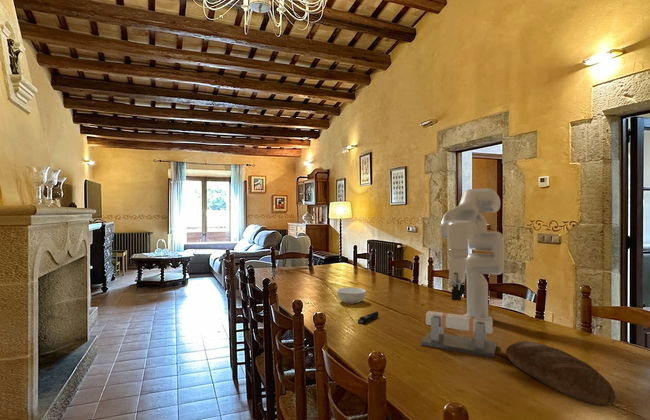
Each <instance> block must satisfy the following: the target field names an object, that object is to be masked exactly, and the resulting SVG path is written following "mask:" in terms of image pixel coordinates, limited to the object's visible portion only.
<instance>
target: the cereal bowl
mask: <svg viewBox="0 0 650 420" xmlns="http://www.w3.org/2000/svg"><path fill="white" fill-rule="evenodd" d="M366 294H367V290H365V289H364V288H360V287H341V288H337V290H336V295H337V298H338V299H339V300H340V301H342V302H344V304H348V303H351V304H350V305H354V303H356V304H359V302H362V301H363V300H364V299H365V298H366V296H367V295H366Z"/></svg>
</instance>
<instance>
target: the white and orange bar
mask: <svg viewBox="0 0 650 420" xmlns="http://www.w3.org/2000/svg"><path fill="white" fill-rule="evenodd" d="M431 317H432V318H439V327H444V329H446V328H448V329H455V330H461V331H468V332H474V333H475V323H477V324H484V333H486V334H490V335H492V334H493V329H494V328H493V327H494V325H493V322H494V321H493V318H492V319H489V318H481V317H475V316H465V315H464V314H458V313H457V314H456V313H449V312H441V311H433V310H428V311H427V312H426V313H425V325H426V326H431Z"/></svg>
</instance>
